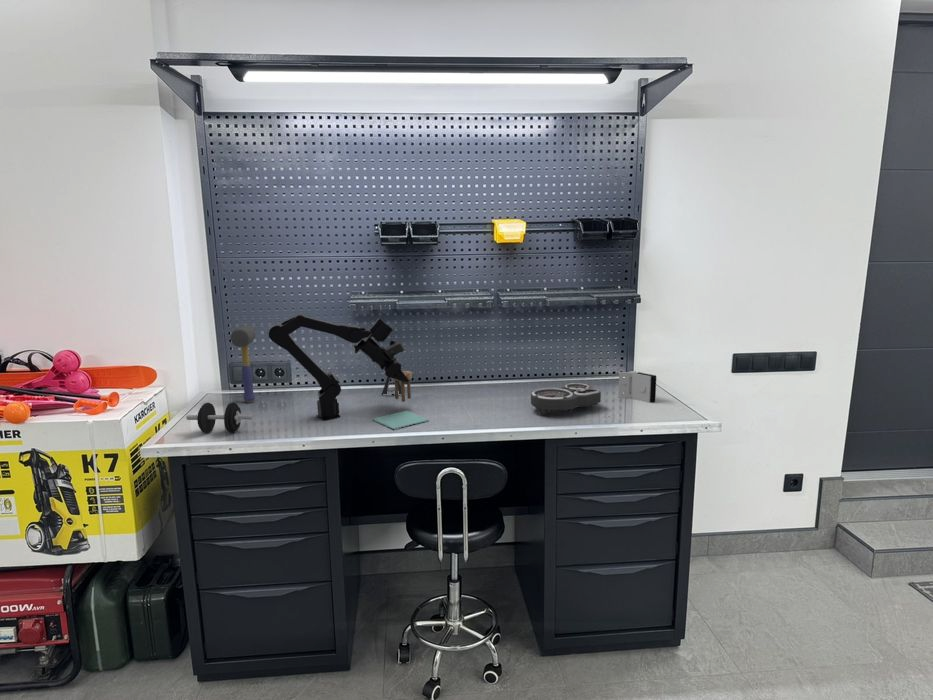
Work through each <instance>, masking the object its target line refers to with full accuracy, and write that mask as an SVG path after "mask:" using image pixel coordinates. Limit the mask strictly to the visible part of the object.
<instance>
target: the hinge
mask: <svg viewBox="0 0 933 700" xmlns="http://www.w3.org/2000/svg"><path fill="white" fill-rule="evenodd" d="M623 377H624V378H623ZM656 387H657V375H656V374H652V373H645V372H643V371H638V372H637V371H633V370H631V371H627V372H626V371H625V372H624V371H619V372H618V393H617V394H618V395H617V397H618V399H633V400H636V401H641V402H645V403H649V404H650V403H651V404H653V403H656V397H657V395H656V393H657V392H656V391H657V388H656Z"/></svg>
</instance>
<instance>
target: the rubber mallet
mask: <svg viewBox="0 0 933 700" xmlns="http://www.w3.org/2000/svg"><path fill="white" fill-rule="evenodd" d="M256 335H257V334H256V329H255V328H254V327H253V326H252V325H249V324H245V325H240V326H238V327H237V328H235V329H234V330H233V331H232V332H231V334H230V342H231V343H232V345H234V346H235V347H237V348H241V359H242V366H241V379H242V383H243V392H244V393H243V400H244V402H246V403H247V404H248V403H250V404H251V403H252V402H254V401H255V394H254V388H253V387H254V386H253V376H254V375H253V371H252V366H251V363H250V355H249V354H250V353H249V345H250V344H251V343H252V342H253V341H254V340H255V339H256Z"/></svg>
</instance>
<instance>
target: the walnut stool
mask: <svg viewBox="0 0 933 700" xmlns="http://www.w3.org/2000/svg"><path fill="white" fill-rule="evenodd" d="M401 371H402V372H403V373H404V375H405V376H406V377H407V378H408V380H409V381H408V382H406V388H405V382H404V381H401V394H402V395H401V402H402V403H405V402H406V394H407V399H409V400H411V398H412V395H411V394H412V393H411V392H412V390H411V380H412V379H413V374H412V371H410V370H401ZM392 380H393V381H394V391H395V395H394V399H395V400H399V398H400V397H399V395H398V381H400V380H397V379H394V378H392ZM406 391H407V393H406Z"/></svg>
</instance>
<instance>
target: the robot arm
mask: <svg viewBox="0 0 933 700" xmlns="http://www.w3.org/2000/svg"><path fill="white" fill-rule="evenodd" d="M301 328H306V329H309V330H310V329H311V330H315V331H317V332H321V333H327V334H330V335H334V336H336V337H338V338H340V339H343V340H345V341H347V342H350V343H352V344H353V352H354V353H355V354H357V353H358V352H359V351H361V352H362V353H363V354H364V355H365V356H366V357H368V358H369V359H370V360H371V361H372V362H373V363H375V364H376V365H377V366H378V367H379V368H380V370H382V371H383V373H384V375H385V376H386V378H387V377H389V378H390V379H393V378H394V379H397V380H400V381H404V383H407V382H408V381H409V380H408V378H407V377H406V376H405V375H404V373H403V372H402V371H403V370H402V364H401V363H400V362H399V360H397V357H395V356H397V355H398V354H400V353H403V352H404V351H405V349H404V347H403V345H402V342H400V341H399V340H397V341H394V339H392V340H389V341H388V346H387V347H384V346H381V345H380V344H379V343H381V342H383V343H384V342H385V341H386V340H387V338H389V336H390V335H391V334H392V333H393V332H394V329H393V328H392V327H391V326H390V325H389V324H387V323H386V322H384V321H383V320H382V319H381V318H377V319H376V320H375V321H374V323H373V324H372V326H370V327H369V328H368V327H359V326H358V325H357V324H351V323H350V324H349V323H335V322H331V321H327V320H323V319H320V318H316V317H312V316H309V315H305V314H303V313H298V314H296V315H295V316H293V317H291V318H288V319H286V320H285V321H283V322H281V323H278V322H277V323H274V324H273V325H271V326H270V328H269V330H268V337H269V339H270V341H271V342H273V343H274V344H276V345H277V346H279V347H280V348H282V349H284V350H285V351H286V352H288V353H289V354H290V355H291V356H292V357H293V358H294V360H296V361H297V362H298V363H299V364H300V365H301V366H302V368H304V369H305V370H306V371H307V372H308V374H310V375H311V376H312V378H314V380H316V382H317V384H318V385H319V387H320V389H319V390H318V391H317V396H318V397H317V398H318V399H317V401H316V403H317V404H316V405H317V414H316V416H315V417H317V418H318V419H320V420H322V421H326V420H327V421H328V420H331V419H335V418H336V419H337V418H341V415H340V404H339V402H338V399H337V397H338V396H339V395H340V394H341V392H342V386H341V384H340V383H341V382H340V379H339V377H337V376H336V375H335V374H334V372H332V370H329V372H327V371H325V370H324V369H322V368H321V366H319V364H318V363H317V362H316V361H315V360H314V359H312V358H311V356H310V355H308V353H307V352H306V351H304V349H303V348H302V347H301V346H300V345H299V344H298V343H297V342H296V341H295V339H294V338H293V336H292V333H294V332H295V331H297V330H298V329H301ZM375 340H376V341H377V342H376V341H375Z"/></svg>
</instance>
